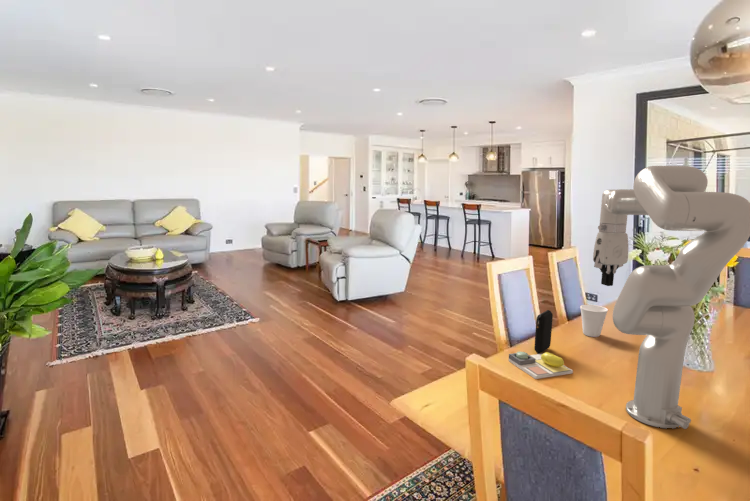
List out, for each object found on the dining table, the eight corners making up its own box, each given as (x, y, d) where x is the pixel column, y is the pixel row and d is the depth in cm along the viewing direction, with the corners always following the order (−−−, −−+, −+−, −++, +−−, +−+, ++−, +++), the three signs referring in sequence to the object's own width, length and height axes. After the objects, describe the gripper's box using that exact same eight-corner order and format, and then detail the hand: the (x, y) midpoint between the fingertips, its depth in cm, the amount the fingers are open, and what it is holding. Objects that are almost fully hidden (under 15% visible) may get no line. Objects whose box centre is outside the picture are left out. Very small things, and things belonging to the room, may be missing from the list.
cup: (611, 337, 168) (614, 310, 166) (592, 340, 165) (595, 312, 163) (590, 329, 177) (592, 303, 176) (572, 332, 174) (574, 305, 172)
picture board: (572, 373, 136) (573, 365, 136) (535, 379, 132) (536, 371, 132) (543, 356, 149) (543, 349, 149) (508, 360, 145) (508, 353, 145)
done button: (529, 360, 142) (530, 355, 142) (520, 362, 141) (521, 356, 141) (523, 356, 145) (523, 351, 145) (514, 357, 144) (514, 352, 144)
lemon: (545, 359, 144) (546, 348, 143) (566, 368, 137) (567, 357, 136) (537, 361, 142) (538, 350, 141) (558, 371, 135) (559, 359, 134)
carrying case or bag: (539, 357, 148) (542, 316, 146) (531, 355, 150) (533, 314, 148) (551, 348, 156) (554, 309, 154) (543, 346, 158) (546, 308, 156)
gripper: (603, 230, 131) (597, 289, 134) (640, 229, 135) (634, 286, 138) (584, 228, 138) (579, 283, 141) (620, 227, 142) (615, 281, 145)
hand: (606, 284), depth 139 cm, fingers closed
